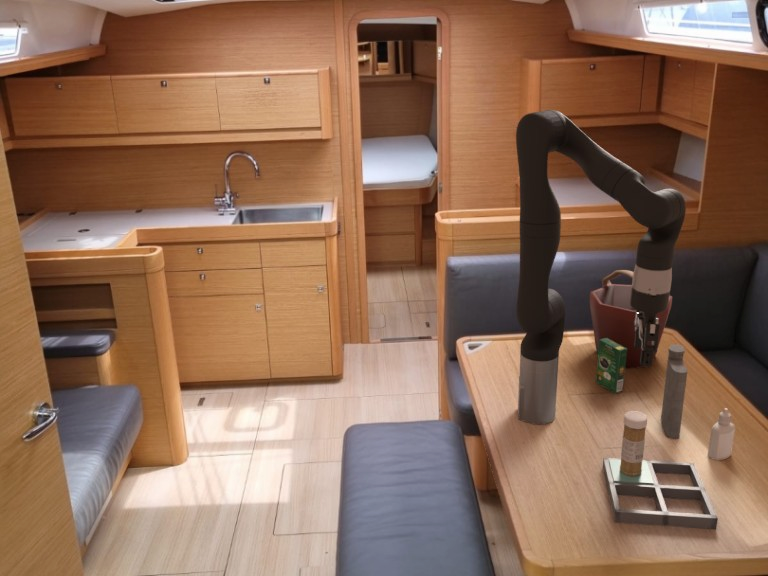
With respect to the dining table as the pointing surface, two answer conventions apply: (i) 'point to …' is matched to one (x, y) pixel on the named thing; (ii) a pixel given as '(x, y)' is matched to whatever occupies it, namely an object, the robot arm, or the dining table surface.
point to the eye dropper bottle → (721, 437)
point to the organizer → (658, 494)
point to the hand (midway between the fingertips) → (642, 356)
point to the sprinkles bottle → (633, 443)
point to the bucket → (619, 317)
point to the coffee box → (611, 365)
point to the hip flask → (674, 392)
